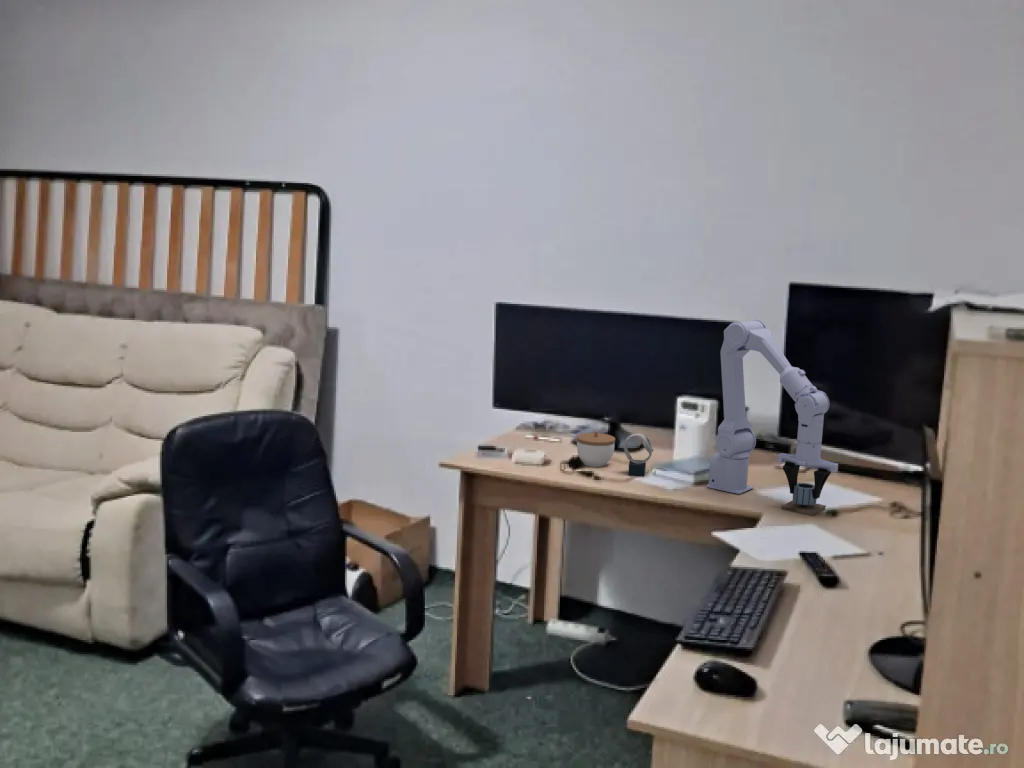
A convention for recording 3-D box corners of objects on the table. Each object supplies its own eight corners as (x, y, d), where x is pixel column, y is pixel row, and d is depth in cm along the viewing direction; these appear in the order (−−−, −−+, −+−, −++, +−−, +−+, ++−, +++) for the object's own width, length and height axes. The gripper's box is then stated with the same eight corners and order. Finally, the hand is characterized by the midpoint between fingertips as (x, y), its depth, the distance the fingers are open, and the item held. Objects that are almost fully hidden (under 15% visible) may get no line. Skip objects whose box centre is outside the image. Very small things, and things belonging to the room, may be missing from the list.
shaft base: (781, 508, 251) (782, 489, 250) (795, 502, 257) (796, 482, 256) (812, 515, 246) (814, 495, 245) (825, 508, 252) (827, 489, 251)
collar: (788, 501, 251) (790, 485, 250) (798, 497, 255) (799, 481, 254) (810, 506, 247) (811, 490, 247) (819, 501, 252) (820, 485, 251)
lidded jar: (571, 459, 292) (572, 427, 290) (607, 458, 294) (608, 426, 293) (582, 469, 282) (583, 436, 280) (619, 468, 284) (620, 435, 282)
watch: (651, 477, 276) (653, 437, 274) (621, 475, 277) (623, 435, 275) (652, 472, 281) (654, 433, 280) (623, 469, 283) (625, 431, 281)
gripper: (774, 438, 250) (770, 492, 252) (831, 449, 241) (826, 504, 243) (786, 434, 255) (782, 487, 258) (843, 444, 246) (838, 498, 249)
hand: (804, 495), depth 251 cm, fingers closed on collar, 5 cm apart
